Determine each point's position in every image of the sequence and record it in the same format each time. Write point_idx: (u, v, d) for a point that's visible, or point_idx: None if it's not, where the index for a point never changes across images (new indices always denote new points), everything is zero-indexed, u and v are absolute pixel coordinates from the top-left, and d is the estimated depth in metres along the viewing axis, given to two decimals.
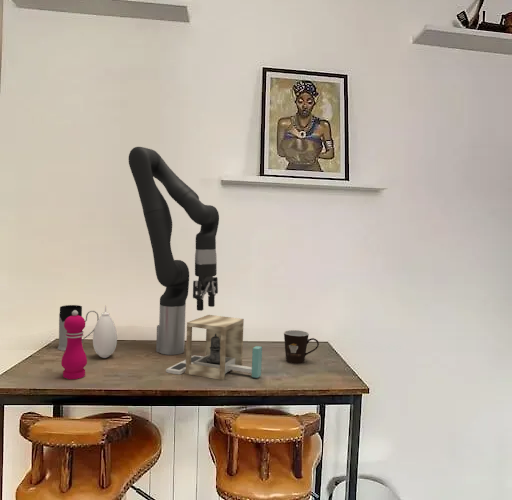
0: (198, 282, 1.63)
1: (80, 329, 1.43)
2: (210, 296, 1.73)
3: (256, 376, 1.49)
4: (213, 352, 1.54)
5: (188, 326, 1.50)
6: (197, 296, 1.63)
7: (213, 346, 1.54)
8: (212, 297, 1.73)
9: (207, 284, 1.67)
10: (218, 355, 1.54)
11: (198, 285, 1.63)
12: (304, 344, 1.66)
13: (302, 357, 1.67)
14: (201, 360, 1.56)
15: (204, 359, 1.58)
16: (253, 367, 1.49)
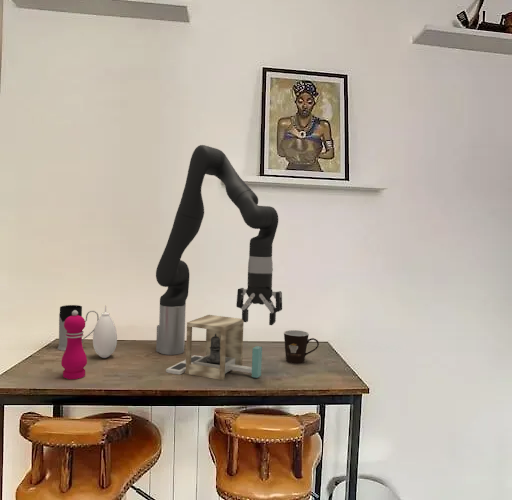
0: (281, 292, 1.47)
1: (80, 329, 1.43)
2: (246, 310, 1.51)
3: (256, 376, 1.49)
4: (213, 352, 1.54)
5: (188, 326, 1.50)
6: (281, 308, 1.47)
7: (213, 346, 1.54)
8: (247, 311, 1.51)
9: None
10: (218, 355, 1.54)
11: (281, 296, 1.47)
12: (304, 344, 1.66)
13: (302, 357, 1.67)
14: (201, 360, 1.56)
15: (204, 359, 1.58)
16: (253, 367, 1.49)
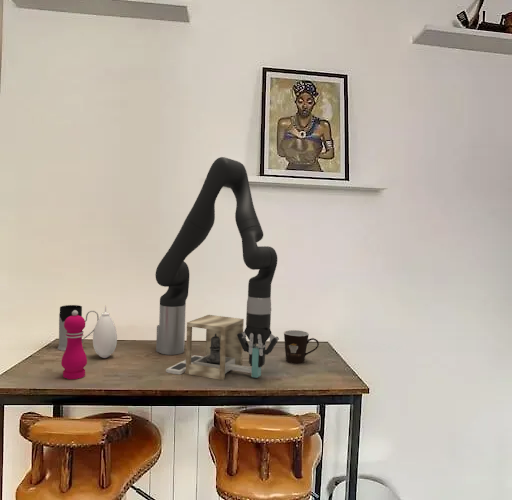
0: (277, 339, 1.48)
1: (80, 329, 1.43)
2: None
3: (256, 376, 1.49)
4: (213, 352, 1.54)
5: (188, 326, 1.50)
6: (270, 352, 1.49)
7: (213, 346, 1.54)
8: None
9: None
10: (218, 355, 1.54)
11: (276, 342, 1.48)
12: (304, 344, 1.66)
13: (302, 357, 1.67)
14: (201, 360, 1.56)
15: (204, 359, 1.58)
16: (253, 367, 1.49)
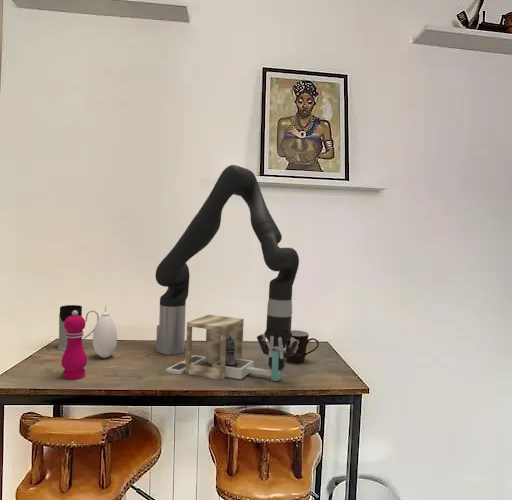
0: (298, 342, 1.46)
1: (80, 329, 1.43)
2: None
3: (276, 379, 1.46)
4: (228, 354, 1.52)
5: (188, 326, 1.50)
6: (290, 355, 1.47)
7: (227, 348, 1.52)
8: None
9: None
10: (232, 357, 1.52)
11: (297, 345, 1.46)
12: (304, 344, 1.66)
13: (302, 357, 1.67)
14: (219, 363, 1.54)
15: None
16: (273, 370, 1.47)
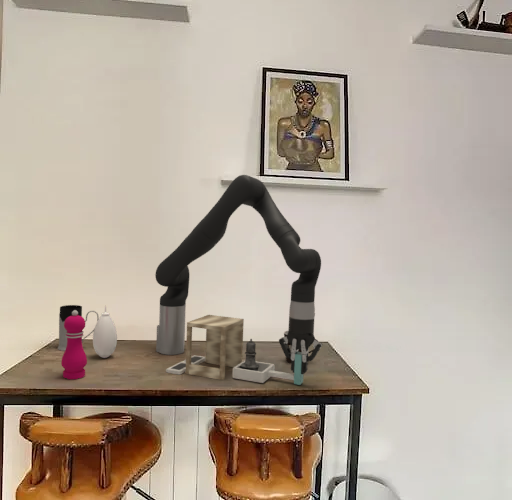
0: (321, 345, 1.43)
1: (80, 329, 1.43)
2: None
3: (299, 383, 1.44)
4: (249, 357, 1.49)
5: (188, 326, 1.50)
6: (313, 358, 1.44)
7: (248, 351, 1.49)
8: None
9: None
10: (253, 360, 1.50)
11: None
12: None
13: None
14: (240, 366, 1.51)
15: None
16: (295, 374, 1.44)
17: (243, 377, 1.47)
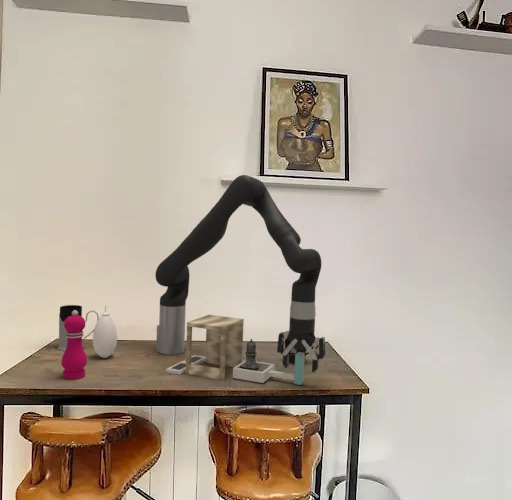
0: (324, 339, 1.43)
1: (80, 329, 1.43)
2: (287, 355, 1.46)
3: (299, 383, 1.44)
4: (249, 357, 1.49)
5: (188, 326, 1.50)
6: (324, 355, 1.43)
7: (249, 351, 1.49)
8: (288, 356, 1.47)
9: None
10: (253, 360, 1.50)
11: (324, 342, 1.43)
12: None
13: None
14: (240, 366, 1.51)
15: None
16: (296, 374, 1.44)
17: (243, 377, 1.47)
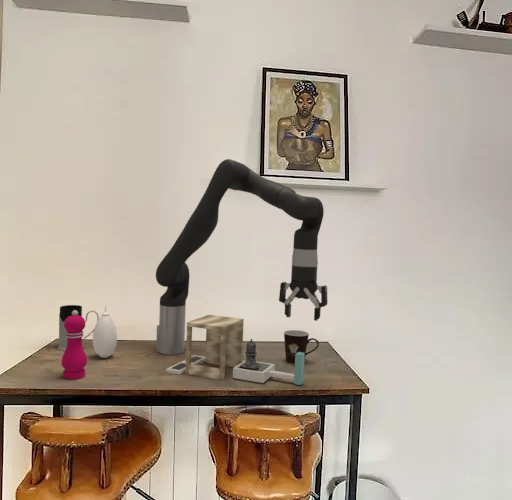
0: (326, 287, 1.42)
1: (80, 329, 1.43)
2: (289, 305, 1.45)
3: (299, 383, 1.44)
4: (249, 357, 1.49)
5: (188, 326, 1.50)
6: (326, 303, 1.42)
7: (249, 351, 1.49)
8: (290, 305, 1.46)
9: None
10: (253, 360, 1.50)
11: (326, 290, 1.42)
12: (304, 344, 1.66)
13: None
14: (240, 366, 1.51)
15: None
16: (296, 374, 1.44)
17: (243, 377, 1.47)
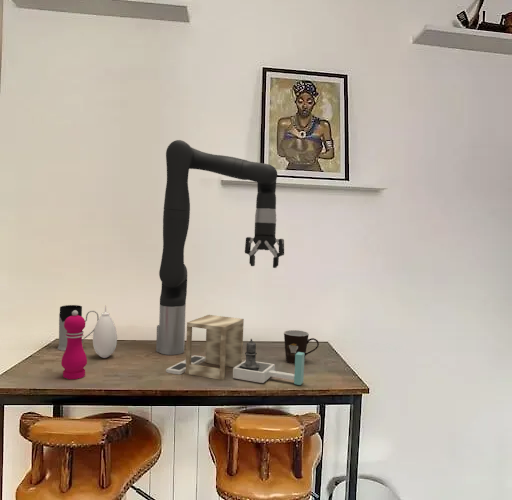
0: (283, 240, 1.71)
1: (80, 329, 1.43)
2: (253, 256, 1.75)
3: (299, 383, 1.44)
4: (249, 357, 1.49)
5: (188, 326, 1.50)
6: (283, 253, 1.71)
7: (249, 351, 1.49)
8: (254, 256, 1.76)
9: None
10: (253, 360, 1.50)
11: (283, 243, 1.71)
12: (304, 344, 1.66)
13: None
14: (240, 366, 1.51)
15: None
16: (296, 374, 1.44)
17: (243, 377, 1.47)
